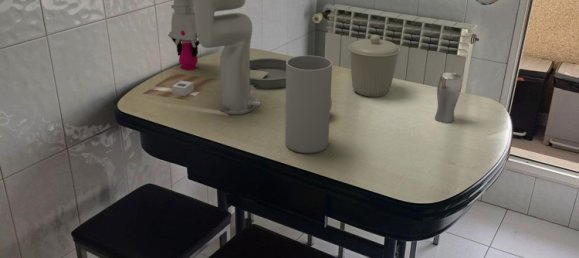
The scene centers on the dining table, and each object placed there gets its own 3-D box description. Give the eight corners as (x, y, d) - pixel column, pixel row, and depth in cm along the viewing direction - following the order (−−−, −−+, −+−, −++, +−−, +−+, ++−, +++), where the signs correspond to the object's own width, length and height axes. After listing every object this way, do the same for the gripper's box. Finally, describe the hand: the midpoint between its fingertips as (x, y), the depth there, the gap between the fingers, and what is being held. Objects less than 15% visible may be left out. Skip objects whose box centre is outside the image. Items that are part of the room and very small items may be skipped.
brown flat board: (217, 82, 202) (217, 78, 201) (189, 104, 183) (189, 100, 182) (174, 76, 207) (174, 73, 206) (143, 97, 188) (142, 93, 187)
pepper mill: (200, 68, 216) (197, 19, 207) (195, 74, 209) (192, 23, 201) (182, 67, 217) (179, 18, 208) (177, 73, 210) (173, 22, 201)
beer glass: (440, 124, 171) (446, 80, 164) (429, 116, 177) (435, 72, 170) (459, 122, 172) (466, 78, 166) (448, 114, 178) (454, 71, 172)
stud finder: (194, 90, 190) (193, 82, 189) (185, 96, 185) (184, 88, 184) (181, 88, 192) (181, 80, 191) (172, 94, 187) (171, 85, 185)
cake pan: (255, 64, 222) (255, 54, 220) (310, 74, 212) (310, 63, 210) (222, 83, 202) (222, 72, 200) (281, 95, 192) (281, 83, 190)
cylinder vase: (329, 136, 162) (333, 56, 151) (326, 156, 151) (330, 71, 140) (288, 133, 164) (289, 54, 153) (282, 152, 152) (282, 68, 142)
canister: (335, 90, 196) (338, 33, 187) (368, 79, 207) (372, 25, 198) (373, 105, 184) (378, 45, 175) (406, 92, 195) (412, 36, 186)
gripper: (159, 9, 202) (163, 55, 209) (200, 13, 197) (203, 60, 205) (169, 5, 208) (172, 50, 216) (209, 9, 203) (211, 55, 211)
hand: (187, 54), depth 210 cm, fingers closed on pepper mill, 5 cm apart
